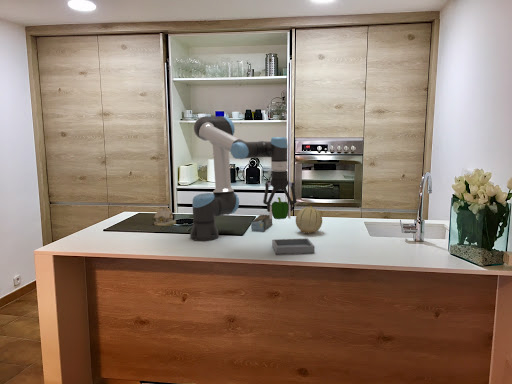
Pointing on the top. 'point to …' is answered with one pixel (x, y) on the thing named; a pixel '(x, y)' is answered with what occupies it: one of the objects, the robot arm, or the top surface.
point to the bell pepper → (280, 209)
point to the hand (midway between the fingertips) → (279, 218)
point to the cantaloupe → (309, 220)
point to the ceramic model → (164, 218)
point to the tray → (292, 246)
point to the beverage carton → (261, 223)
